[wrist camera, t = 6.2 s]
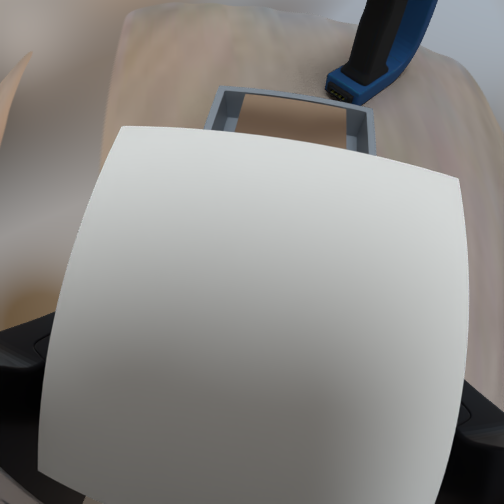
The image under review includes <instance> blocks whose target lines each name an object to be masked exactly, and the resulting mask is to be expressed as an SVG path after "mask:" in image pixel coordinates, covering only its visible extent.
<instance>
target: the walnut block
mask: <svg viewBox="0 0 504 504" xmlns="http://www.w3.org/2000/svg"><path fill="white" fill-rule="evenodd" d="M235 132H236V133H245V134H253V135H261V136H269V137H276V138H283V139H290V140H296V141H302V142H308V143H314V144H320V145H325V146H331V147H336V148H341V149H346V109H343V108H338V107H333V106H328V105H322V104H317V103H311V102H305V101H299V100H292V99H285V98H278V97H270V96H261V95H252V94H245V97H244V100H243V104H242V107H241V111H240V114H239V118H238V121H237V125H236V128H235Z"/></svg>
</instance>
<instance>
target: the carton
mask: <svg viewBox="0 0 504 504" xmlns="http://www.w3.org/2000/svg"><path fill="white" fill-rule="evenodd" d="M468 322H469V273H468V253H467V240H466V229H465V220H464V211H463V204H462V197H461V190H460V184H459V179H458V178H455V177H452V176H449V175H445V174H442V173H439V172H435V171H432V170H428V169H425V168H421V167H418V166H414V165H410V164H406V163H402V162H399V161H395V160H391V159H386V158H382V157H378V156H374V155H369V154H365V153H360V152H356V151H351V150H346V149H341V148H336V147H331V146H325V145H320V144H314V143H308V142H302V141H296V140H290V139H283V138H276V137H269V136H261V135H253V134H245V133H236V132H226V131H215V130H203V129H189V128H172V127H147V126H122V127H121V129H120V131H119V133H118V135H117V138H116V140H115V142H114V144H113V146H112V148H111V150H110V152H109V155H108V157H107V159H106V161H105V164H104V166H103V168H102V171H101V173H100V175H99V178H98V180H97V183H96V185H95V188H94V190H93V193H92V195H91V198H90V200H89V203H88V206H87V208H86V211H85V214H84V216H83V219H82V222H81V225H80V228H79V231H78V234H77V237H76V240H75V243H74V246H73V249H72V252H71V256H70V259H69V263H68V266H67V269H66V273H65V277H64V280H63V284H62V288H61V292H60V296H59V300H58V304H57V309H56V312H55V317H54V322H53V326H52V331H51V336H50V342H49V347H48V353H47V359H46V366H45V372H44V380H43V388H42V397H41V407H40V419H39V436H38V471H40V472H41V473H43V474H45V475H47V476H48V477H50V478H52V479H54V480H56V481H57V482H59V483H61V484H63V485H65V486H67V487H69V488H71V489H73V490H75V491H77V492H79V493H81V494H83V495H86V496H88V497H90V498H92V499H94V500H97V501H99V502H101V503H104V504H435V501H436V498H437V495H438V492H439V489H440V486H441V483H442V480H443V476H444V473H445V470H446V466H447V462H448V459H449V455H450V451H451V447H452V443H453V438H454V434H455V429H456V424H457V419H458V414H459V408H460V402H461V396H462V389H463V382H464V374H465V365H466V354H467V341H468Z"/></svg>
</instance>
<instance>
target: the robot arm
mask: <svg viewBox="0 0 504 504" xmlns="http://www.w3.org/2000/svg"><path fill="white" fill-rule="evenodd" d="M55 312H56V311H55ZM55 312H53V313H50V314H48V315H45V316H43V317H40V318H37V319H35V320H32V321H29V322H27V323H23V324H20V325H17V326H14V327H11V328H9V329H6V330H3V331H0V504H83V501H84V499H85V496H86V495H83V494H81V493H79V492H77V491H75V490H73V489H71V488H69V487H67V486H65V485H63V484H61V483H59V482H57V481H56V480H54V479H52V478H50V477H48V476H47V475H45V474H43V473H41V472H40V471H38V436H39V419H40V407H41V397H42V388H43V380H44V372H45V366H46V359H47V353H48V347H49V342H50V336H51V331H52V326H53V322H54V317H55ZM435 504H504V412H503V411H502V410H500V409H499V408H498V407H497V406H495V405H494V404H493V403H492V402H491V401H489V400H488V399H487V398H486V397H484V396H483V395H482V394H481V393H480V392H478V391H477V390H476V389H475V388H474V387H472V386H471V385H470V384H469V383H468V382H467V381H466V380H465V379H464V382H463V389H462V396H461V402H460V408H459V414H458V419H457V424H456V429H455V434H454V438H453V443H452V447H451V451H450V455H449V459H448V462H447V466H446V470H445V473H444V476H443V480H442V483H441V486H440V489H439V492H438V495H437V498H436V501H435Z"/></svg>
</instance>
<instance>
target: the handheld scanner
mask: <svg viewBox="0 0 504 504" xmlns="http://www.w3.org/2000/svg"><path fill="white" fill-rule="evenodd" d="M437 1H438V0H367V3H366V6H365V9H364V12H363V14H362V17H361V19H360V22H359V26H358V29H357V33H356V36H355V40H354V44H353V47H352V51H351V55H350V58H349V61H348V62H347V63H346V64H345V65H343V66H341V67H340V68H338V69H336V70H334V71H333V72H331V73H329V74H328V76H327V80H326V85H325V90H327V91H328V92H330V93H331V94H333V95H334V96H336V97H337V98H339V99H340V100H342V101H343V102H345V103H349V104H354V105H358V106H361V105H362V104H364V103H365V102H366V101H368V100H369V99H370V98H372V97H373V96H375V95H376V94H377V93H379V92H380V91H381V90H383V89H384V88H386V87H387V86H388V85H390V84H391V83H392V82H394V81H395V80H396V79H397V78H398V76H399V75H400V74H401V73H402V72H403V71H404V69H405V68H406V67H407V65H408V64H409V63H410V61H411V60H412V58H413V56H414V55H415V53H416V51H417V49H418V47H419V45H420V43H421V41H422V39H423V37H424V35H425V32H426V30H427V27H428V25H429V22H430V20H431V18H432V15H433V12H434V9H435V7H436V4H437Z"/></svg>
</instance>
